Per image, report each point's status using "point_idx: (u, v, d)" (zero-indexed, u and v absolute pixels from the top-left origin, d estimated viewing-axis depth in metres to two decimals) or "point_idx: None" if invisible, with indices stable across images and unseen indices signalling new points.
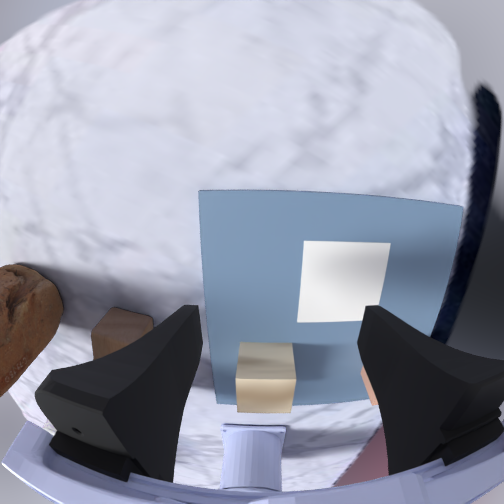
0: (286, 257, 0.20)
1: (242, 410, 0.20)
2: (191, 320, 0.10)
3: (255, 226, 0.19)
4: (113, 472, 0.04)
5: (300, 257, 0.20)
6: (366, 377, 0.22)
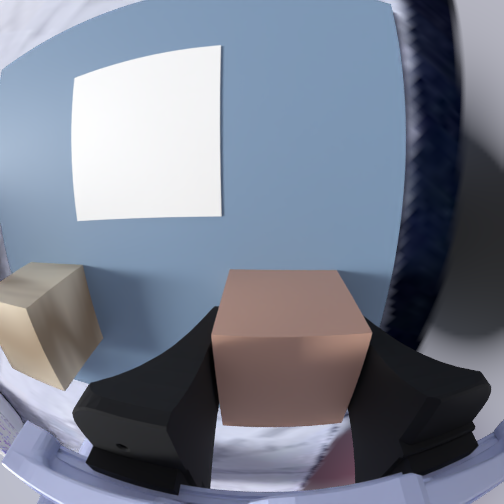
0: (56, 109, 0.09)
1: (14, 365, 0.09)
2: None
3: (32, 82, 0.08)
4: (165, 487, 0.04)
5: (70, 103, 0.09)
6: None
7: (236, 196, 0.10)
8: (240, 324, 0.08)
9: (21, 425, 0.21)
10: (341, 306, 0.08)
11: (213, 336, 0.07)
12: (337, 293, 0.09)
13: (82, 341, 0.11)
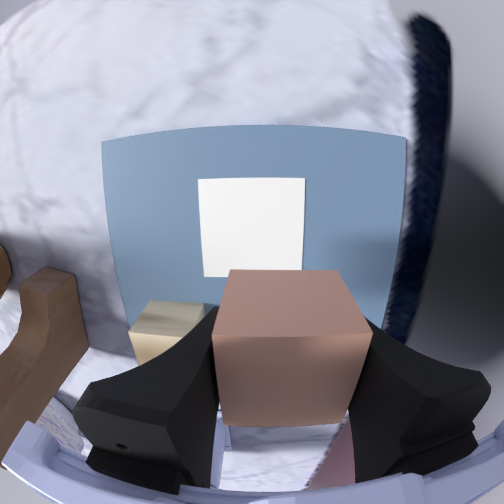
0: (181, 199, 0.18)
1: None
2: None
3: (149, 168, 0.17)
4: (165, 487, 0.04)
5: (196, 198, 0.18)
6: None
7: (309, 267, 0.19)
8: (240, 324, 0.08)
9: (77, 427, 0.30)
10: (341, 306, 0.08)
11: (214, 336, 0.07)
12: (337, 293, 0.09)
13: None
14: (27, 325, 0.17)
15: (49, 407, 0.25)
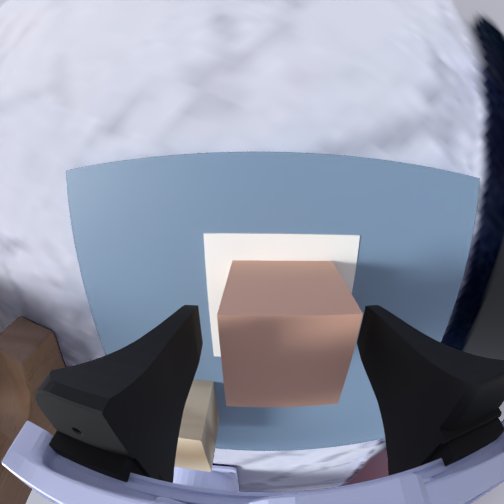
0: (180, 260, 0.12)
1: None
2: (191, 320, 0.10)
3: (131, 213, 0.12)
4: (113, 472, 0.04)
5: (201, 260, 0.12)
6: None
7: None
8: (243, 305, 0.09)
9: None
10: (335, 291, 0.09)
11: (219, 316, 0.08)
12: (331, 280, 0.10)
13: (214, 432, 0.15)
14: (7, 389, 0.11)
15: None
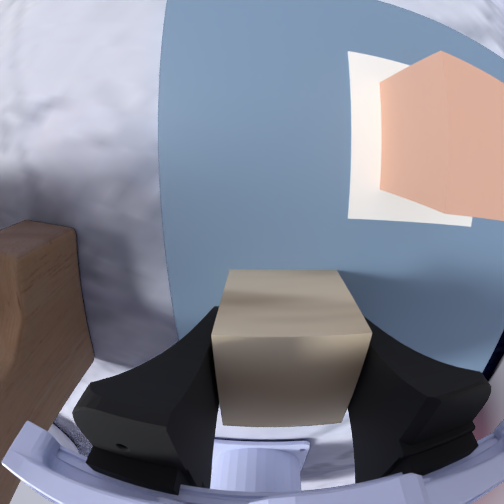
0: (320, 75, 0.08)
1: (234, 421, 0.08)
2: None
3: (259, 25, 0.08)
4: (165, 487, 0.04)
5: (345, 78, 0.08)
6: (398, 170, 0.08)
7: None
8: None
9: None
10: None
11: (442, 53, 0.04)
12: None
13: None
14: None
15: None
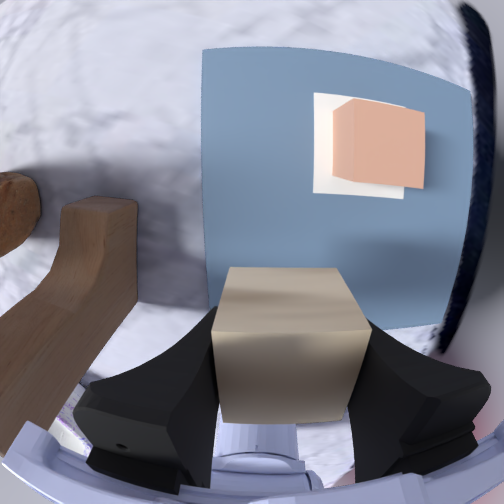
0: (296, 109, 0.16)
1: (234, 419, 0.09)
2: None
3: (261, 77, 0.15)
4: (165, 487, 0.04)
5: (311, 110, 0.16)
6: (338, 163, 0.15)
7: (409, 189, 0.17)
8: None
9: None
10: None
11: (354, 99, 0.12)
12: None
13: None
14: (67, 260, 0.15)
15: None
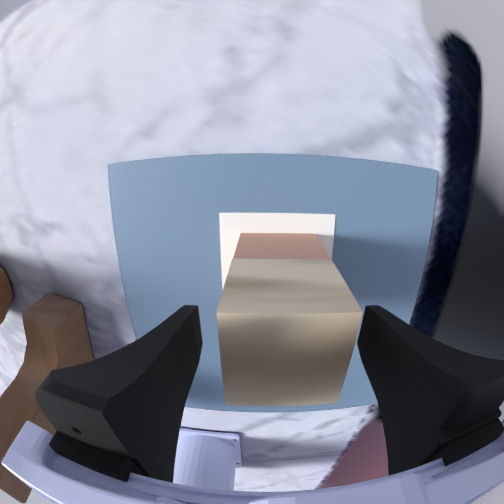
0: (200, 233, 0.17)
1: (235, 400, 0.09)
2: (191, 320, 0.10)
3: (163, 198, 0.16)
4: (113, 472, 0.04)
5: (217, 233, 0.17)
6: None
7: None
8: (249, 255, 0.13)
9: None
10: (313, 249, 0.14)
11: None
12: (312, 244, 0.14)
13: None
14: (34, 357, 0.16)
15: None
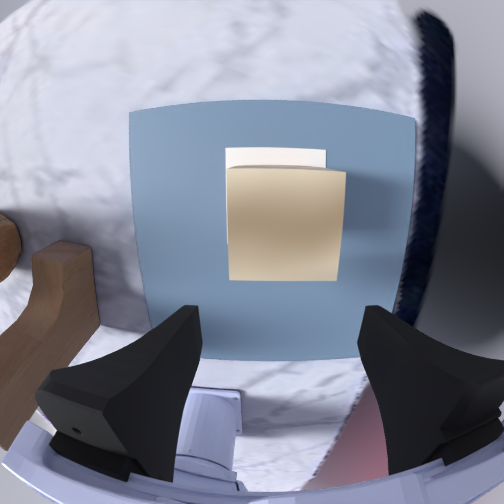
0: (208, 166, 0.18)
1: (239, 273, 0.11)
2: (191, 320, 0.10)
3: (177, 137, 0.18)
4: (113, 472, 0.04)
5: (223, 165, 0.18)
6: None
7: None
8: None
9: None
10: None
11: None
12: (306, 166, 0.16)
13: None
14: (39, 298, 0.17)
15: None
